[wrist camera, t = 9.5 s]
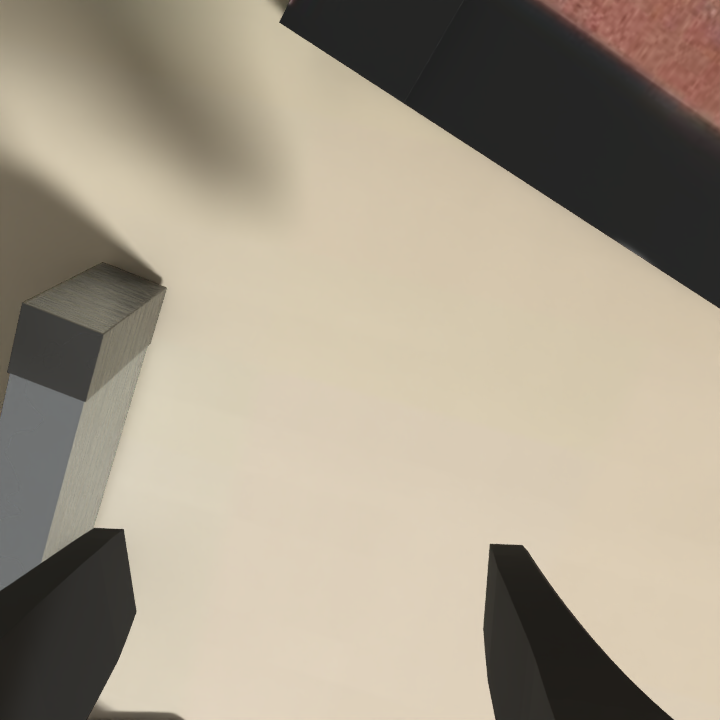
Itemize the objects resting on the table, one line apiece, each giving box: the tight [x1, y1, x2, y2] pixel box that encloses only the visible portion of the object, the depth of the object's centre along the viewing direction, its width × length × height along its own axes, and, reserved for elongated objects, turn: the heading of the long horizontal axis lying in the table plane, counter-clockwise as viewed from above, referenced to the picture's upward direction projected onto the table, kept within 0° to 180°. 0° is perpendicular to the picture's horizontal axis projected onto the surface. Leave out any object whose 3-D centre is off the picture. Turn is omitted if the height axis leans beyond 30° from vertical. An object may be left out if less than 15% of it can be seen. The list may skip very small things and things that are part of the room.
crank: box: [0, 262, 167, 591], centre depth 21 cm, size 14×4×5 cm, turn 158°
